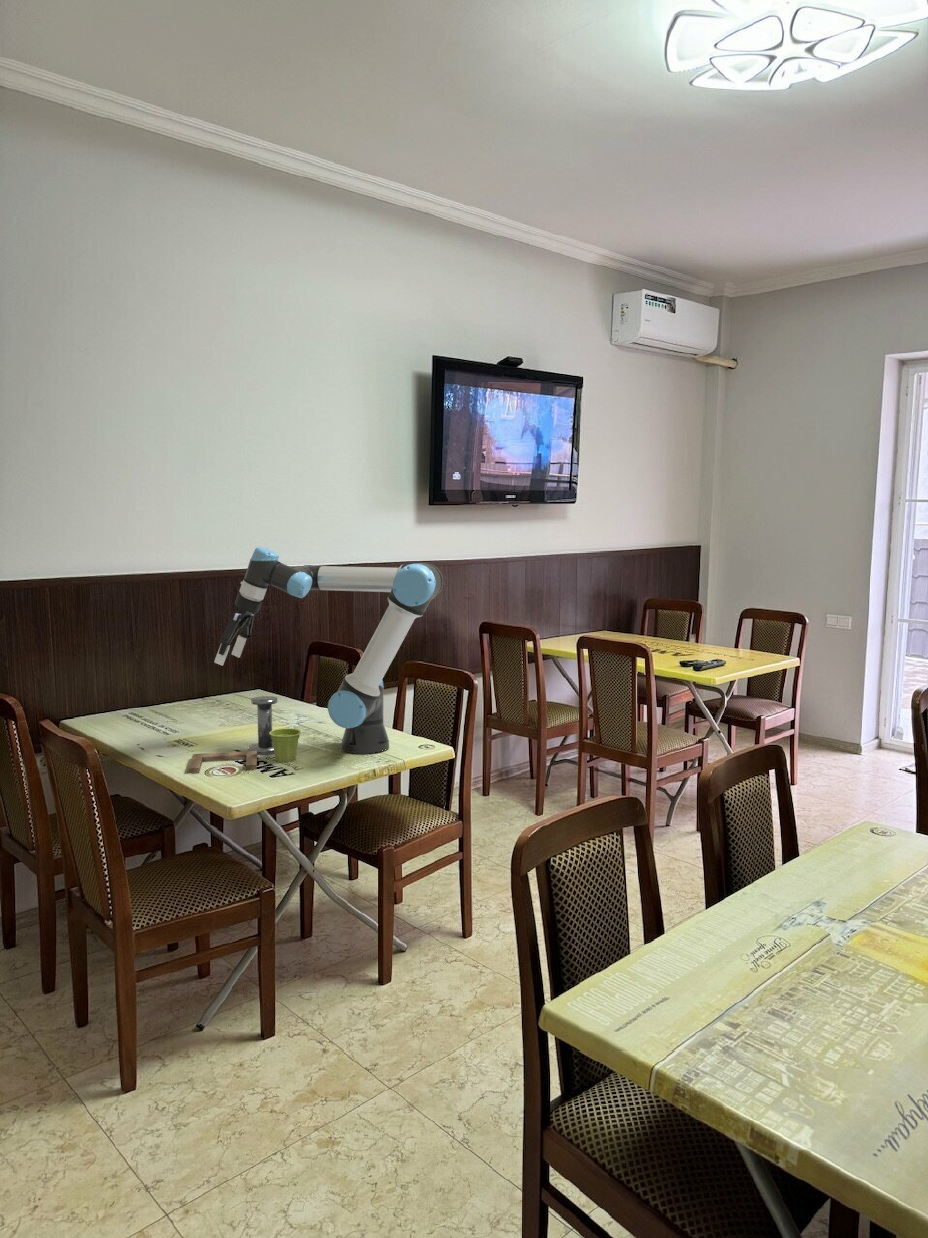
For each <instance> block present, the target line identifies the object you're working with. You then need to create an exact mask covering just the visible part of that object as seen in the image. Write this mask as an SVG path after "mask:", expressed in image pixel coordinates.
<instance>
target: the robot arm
mask: <svg viewBox="0 0 928 1238" xmlns="http://www.w3.org/2000/svg"><path fill="white" fill-rule="evenodd" d="M279 557H280V555H279V553H278V552H276V551H275V550H273V549H270V548H268V547H263V546H257V547H256V548H254V551H253V553H252V555H251V557H250V559H249V562H248V566H247V568H246V572H245V574H244V577H243V579H242V581H240V584H241V585H240V588H239V591H238V592H239V593H238V594H237V596H236V598H235V601H234V606H235V607H237V608H238V610H237V612H235V611H234V612H233V613H232V614H231V617H230V620H229V621H228V623H227V625H226V627H225V629H224V630H223V633H222V635H221V636H220V637H219V639H218V643H219V644H220V645H219V648H218V651H217V653H216V656H215V658H214V661H213V662H214V664H216V665H217V664H218V665H220V666H224V664H225V661H226V659H227V656H228V653H229V651H230V647H231V645H230V644H231V643H232V642H233V640H234V638H235V637H236V635H237V633H238V632H239V635H237V638H236V641H235V644H234V646H233V648H232V651H231V655H232V656H235V657H236V658H241V655H242V653H243V650H244V647H245V645H246V641H247V639H248V640H249V639H251V637H252V636H251V635H252V632H253V631H252V630H253V626H254V621H255V617H256V613H257V614H258V612H260V609H261V606H262V601H263V600H264V598H265V595H266V593H267V590H268V587H269V586H272V587H274V588H276V589H279V590H281V591H283V592H285V593H287V594H288V595H290V596H293V597H296V598H300V599H303V598H305V597H306V596H307V595H308V594H309V592H310V591H342V592H343V591H344V592H377V593H378V592H379V593H382V592H383V593H388V596H387V602H388V604H389V605H388V606H387V608H386V610H385V612H384V614H383V616H382V618H381V619H380V622H379V624H378V626H377V627H376V629H375V630H374V633H373V635H372V637H371V638H370V640H369V642H368V644H367V646H366V648H365V650H364V651H363V653H362V656H361V657H360V660H359V661H358V663H357V665H356V667H355V669H354V670H353V672H352V673H349V674H346V675H345V677H344V678H343V680H342V682H341V684H340V685H339V687H338V689H337V691H336V692H334V693H333V694H332V695H331V697H330V699H329V700H328V703H327V712H328V715H329V718H330V720H332V722H333V723H334V724H335V725H337V726H339V727H341V728H343V729H344V732H343V736H342V739H341V743H340V746H341V750H342V751H343V752H346V753H349V754H359V755H368V754H369V753H371V754H376V753H375V752H378V753H380V752H379V751H382V750H385V749H387V748H390V740H389V737H388V733H387V731H386V727H385V725H384V723H385V722H384V689H385V687H384V681H383V678H384V677H385V676H386V673H387V672H388V670H389V667H390V665H391V664H392V662H393V660H394V659H395V657H396V655H397V653H398V651H399V650H400V647H401V645H402V644H403V641H404V640H405V638H406V637H407V634H408V633H409V630H410V629H411V627H412V625H413V624H414V622H415V619H417V618H421V617H423V616H424V614H425V612H426V611H427V608H428V607H429V604H430V603H431V601H432V600H434V599H435V598H436V597H438V596H439V594H440V593H441V591H442V590H443V586H444V578H443V574H442V572H441V571H440V569H439V568H438V567H437V566H436V565H434V564H432V563H429V562H419V563H410V564H401V565H400V566H399V567H384V566H383V567H379V566H378V567H375V566H337V565H336V566H335V565H334V566H333V565H331V566H330V565H329V566H328V565H326V566H325V565H319V566H318V565H311V564H304V565H302V566H296V567H295V566H294V567H292V566H290V565H287V564H286V563H285V564H284V563H283V562H281V561H279ZM387 750H388V749H387ZM385 751H386V750H385Z"/></svg>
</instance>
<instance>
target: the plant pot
mask: <svg viewBox="0 0 928 1238" xmlns="http://www.w3.org/2000/svg"><path fill="white" fill-rule="evenodd" d="M269 734H270V735H271V739H272V742H273V748H274V754H273V755H274V760H275V761H276V762H278V763H283V764H284V763H289V762H295V761H296V759H297V752H298V744H299V739H300V735H301V734H302V731H301V729H296V728H287V727H285V728H278V729H272V731H271V732H269Z"/></svg>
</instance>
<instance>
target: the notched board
mask: <svg viewBox="0 0 928 1238" xmlns="http://www.w3.org/2000/svg"><path fill="white" fill-rule="evenodd" d="M241 760H242V761H244V760H245V771H255V770H254V769H257V768H258V767H257V765H258V755H257V751H249V750H246V751H244V750H243V751H227V752H224V751H223V752H209V753H208V752H207V753H193V754H192V756H191V758H190V762H189V765H188V767H187V769H188V770H187V773H192V774H199V773H201V768H202V764H203V763H206V762H227V761H241Z"/></svg>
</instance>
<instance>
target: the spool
mask: <svg viewBox="0 0 928 1238" xmlns="http://www.w3.org/2000/svg"><path fill="white" fill-rule="evenodd" d="M278 698H279V697H277V696H272V695H264V696H263V695H262V696H254V697H252V698H250V700H251V705H255V706H256V708H257V710H256V711H257V712H256V714H257V742H256V743H254V744H251V745H249V747H248V751H257V756H269V755H274V748H273V742H272V739H271V735H270V734H269V732H271V731H273V708H272V707H273V705H275V704H277V703H278V702H279V700H278Z"/></svg>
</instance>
